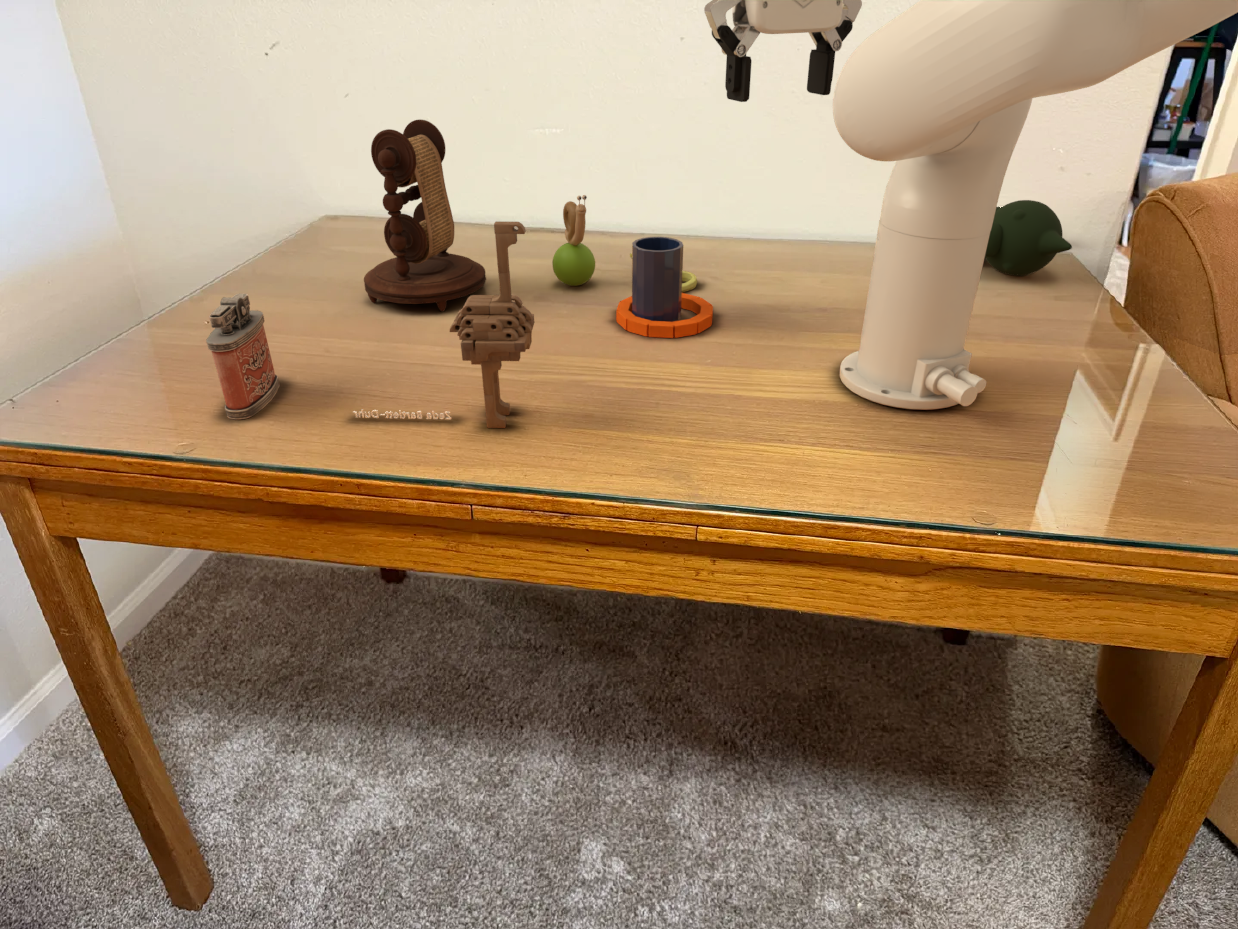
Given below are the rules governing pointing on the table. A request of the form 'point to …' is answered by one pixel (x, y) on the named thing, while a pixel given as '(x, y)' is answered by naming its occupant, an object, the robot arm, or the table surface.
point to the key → (687, 280)
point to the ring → (663, 327)
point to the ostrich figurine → (490, 332)
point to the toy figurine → (1024, 238)
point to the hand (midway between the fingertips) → (778, 96)
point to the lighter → (242, 357)
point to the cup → (657, 278)
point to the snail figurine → (574, 248)
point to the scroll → (418, 223)
